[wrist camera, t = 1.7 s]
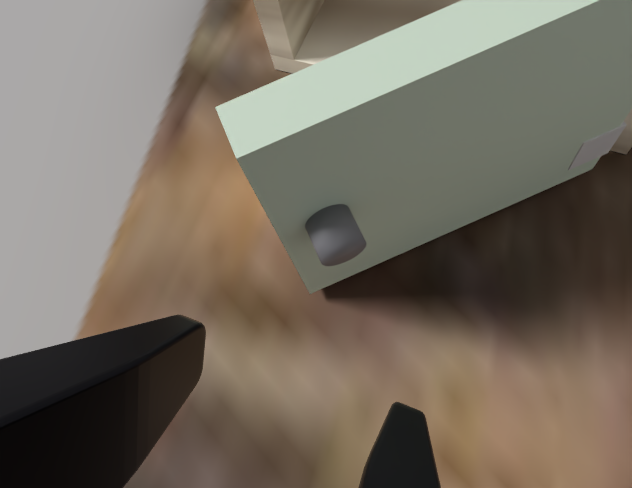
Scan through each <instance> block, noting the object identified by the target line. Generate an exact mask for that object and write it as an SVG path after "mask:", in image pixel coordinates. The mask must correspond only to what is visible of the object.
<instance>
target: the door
mask: <svg viewBox="0 0 632 488" xmlns="http://www.w3.org/2000/svg"><path fill="white" fill-rule="evenodd" d="M215 108H216V110H217V112H218V115H219V117H220V120H221V122H222V125H223V127H224V129H225V132H226V134H227V137H228V139H229V142H230V144H231V147H232V149H233V151H234V154H235V156H236V159H237V161H238V162H239V164H240V166H241V168H242V170H243V172H244V173H245V175H246V177H247V179H248V181H249V183H250V184H251V186H252V188H253V190H254V192H255V194H256V196H257V197H258V199H259V201H260V203H261V205H262V207H263V208H264V210H265V212H266V214H267V216H268V218H269V219H270V221H271V223H272V225H273V227H274V229H275V231H276V232H277V234H278V236H279V238H280V240H281V242H282V243H283V245H284V247H285V249H286V251H287V253H288V254H289V256H290V258H291V260H292V262H293V264H294V265H295V267H296V269H297V271H298V273H299V275H300V277H301V278H302V280H303V282H304V284H305V286H306V288H307V289H308V291H309V293H310V294H311V293H314V292H316V291H318V290H320V289H323V288H325V287H327V286H329V285H332V284H334V283H336V282H338V281H341V280H343V279H345V278H347V277H350V276H352V275H354V274H356V273H359V272H361V271H363V270H366V269H368V268H370V267H372V266H375V265H377V264H379V263H381V262H384V261H386V260H388V259H390V258H393V257H395V256H397V255H399V254H402V253H404V252H406V251H408V250H411V249H413V248H415V247H417V246H420V245H422V244H424V243H427V242H429V241H431V240H433V239H436V238H438V237H440V236H442V235H445V234H447V233H449V232H451V231H454V230H456V229H458V228H460V227H463V226H465V225H467V224H469V223H472V222H474V221H476V220H479V219H481V218H483V217H485V216H488V215H490V214H492V213H494V212H497V211H499V210H501V209H503V208H506V207H508V206H510V205H512V204H515V203H517V202H519V201H521V200H524V199H526V198H528V197H530V196H533V195H535V194H537V193H540V192H542V191H544V190H546V189H549V188H551V187H553V186H555V185H558V184H560V183H562V182H564V181H567V180H569V179H571V178H573V177H576V176H578V175H580V174H582V173H585V172H587V171H589V170H591V169H593V168H594V166H595V165H596V163H597V162H598V160H599V158H600V157H601V156H602V155H604V154H607V153H608V152H609V151H610V149H611V148H612V146H613V145H614V143H615V142H616V140H617V139H618V137H619V136H620V134H621V133H622V131H623V130H624V128H625V127H626V125H627V124H626V123H625V122H624V120H625V118H626V117H627V115H628V114H629V112H630V110H631V109H632V0H461V1H459V2H457V3H454V4H452V5H450V6H447V7H445V8H443V9H440V10H438V11H436V12H434V13H431V14H429V15H427V16H424V17H422V18H420V19H417V20H415V21H413V22H411V23H408V24H406V25H404V26H401V27H399V28H397V29H394V30H392V31H390V32H388V33H385V34H383V35H381V36H378V37H376V38H374V39H371V40H369V41H367V42H364V43H362V44H360V45H358V46H355V47H353V48H351V49H348V50H346V51H344V52H341V53H339V54H337V55H335V56H332V57H330V58H328V59H325V60H323V61H321V62H318V63H316V64H314V65H311V66H309V67H307V68H305V69H302V70H300V71H298V72H295V73H293V74H291V75H288V76H286V77H284V78H282V79H279V80H277V81H275V82H272V83H270V84H268V85H265V86H263V87H261V88H258V89H256V90H254V91H252V92H249V93H247V94H245V95H242V96H240V97H238V98H235V99H233V100H231V101H229V102H226V103H224V104H222V105H219V106H217V107H215Z"/></svg>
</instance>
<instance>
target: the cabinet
mask: <svg viewBox="0 0 632 488" xmlns="http://www.w3.org/2000/svg"><path fill="white" fill-rule="evenodd" d="M459 1H461V0H253V2H254V5H255V8H256V11H257V14H258V17H259V20H260V23H261V26H262V30H263V33H264V36H265V39H266V42H267V45H268V48H269V51H270V54H271V58H272V61H273V64H274V67H275V69H276V70H281V71H285V72H289V73H295V72H298V71H300V70H302V69H305V68H307V67H309V66H311V65H314V64H316V63H318V62H321V61H323V60H325V59H328V58H330V57H332V56H335V55H337V54H339V53H341V52H344V51H346V50H348V49H351V48H353V47H355V46H358V45H360V44H362V43H364V42H367V41H369V40H371V39H374V38H376V37H378V36H381V35H383V34H385V33H388V32H390V31H392V30H394V29H397V28H399V27H401V26H404V25H406V24H408V23H411V22H413V21H415V20H417V19H420V18H422V17H424V16H427V15H429V14H431V13H434V12H436V11H438V10H440V9H443V8H445V7H447V6H450V5H452V4H454V3H457V2H459ZM624 122H625V123H626V124H627V125H626V127H625V128H624V130H623V131H622V133H621V134H620V136H619V137H618V139H617V140H616V142H615V143H614V145H613V146H612V148H611V149H610V151H614V152H618V153H622V154H627V153H628V152H629V150H630V149H631V148H632V109H631V110H630V112H629V114H628V115H627V117H626V118H625V120H624Z"/></svg>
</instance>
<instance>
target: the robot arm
mask: <svg viewBox="0 0 632 488" xmlns="http://www.w3.org/2000/svg"><path fill="white" fill-rule="evenodd" d="M205 337H206V330H205V326H204V325H203V324H202V323H201V322H199V321H196V320H194V319H191V318H189V317H186V316H183V315H174V316H170V317H166V318H162V319H158V320H154V321H150V322H146V323H142V324H138V325H134V326H130V327H126V328H122V329H118V330H114V331H110V332H107V333H103V334H99V335H95V336H91V337H87V338H83V339H79V340H75V341H71V342H67V343H63V344H59V345H55V346H51V347H47V348H43V349H40V350H35V351H31V352H28V353H23V354H19V355H16V356H12V357H8V358H4V359H0V488H123V487H124V486H125V484H126V483H127V482H128V481H129V480H130V478H131V477H132V476H133V475H134V473H135V472H136V471H137V470H138V468H139V467H140V465H141V464H142V463H143V461H144V460H145V459H146V457H147V456H148V454H149V453H150V451H151V450H152V449H153V447H154V446H155V444H156V443H157V441H158V440H159V438H160V437H161V436H162V434H163V433H164V431H165V430H166V428H167V427H168V425H169V424H170V422H171V421H172V420H173V418H174V417H175V415H176V414H177V412H178V411H179V409H180V408H181V406H182V405H183V404H184V402H185V401H186V399H187V398H188V396H189V395H190V393H191V392H192V391H193V389H194V388H195V386H196V385H197V383H198V381H199V379H200V376H201V373H202V369H203V359H204V348H205ZM359 488H441V486H440V481H439V477H438V472H437V468H436V463H435V458H434V454H433V449H432V445H431V440H430V436H429V431H428V426H427V422H426V418H425V415H424V414H423V412H421V411H419V410H417V409H414V408H412V407H409V406H407V405H404V404H402V403H399V402H395V403H394V404H392V406H391V408H390V410H389V412H388V415H387V417H386V419H385V421H384V423H383V426H382V428H381V430H380V432H379V434H378V437H377V439H376V441H375V443H374V445H373V448H372V450H371V452H370V454H369V457H368V459H367V462H366V464H365V467H364V471H363V474H362V478H361V481H360V485H359Z"/></svg>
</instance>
